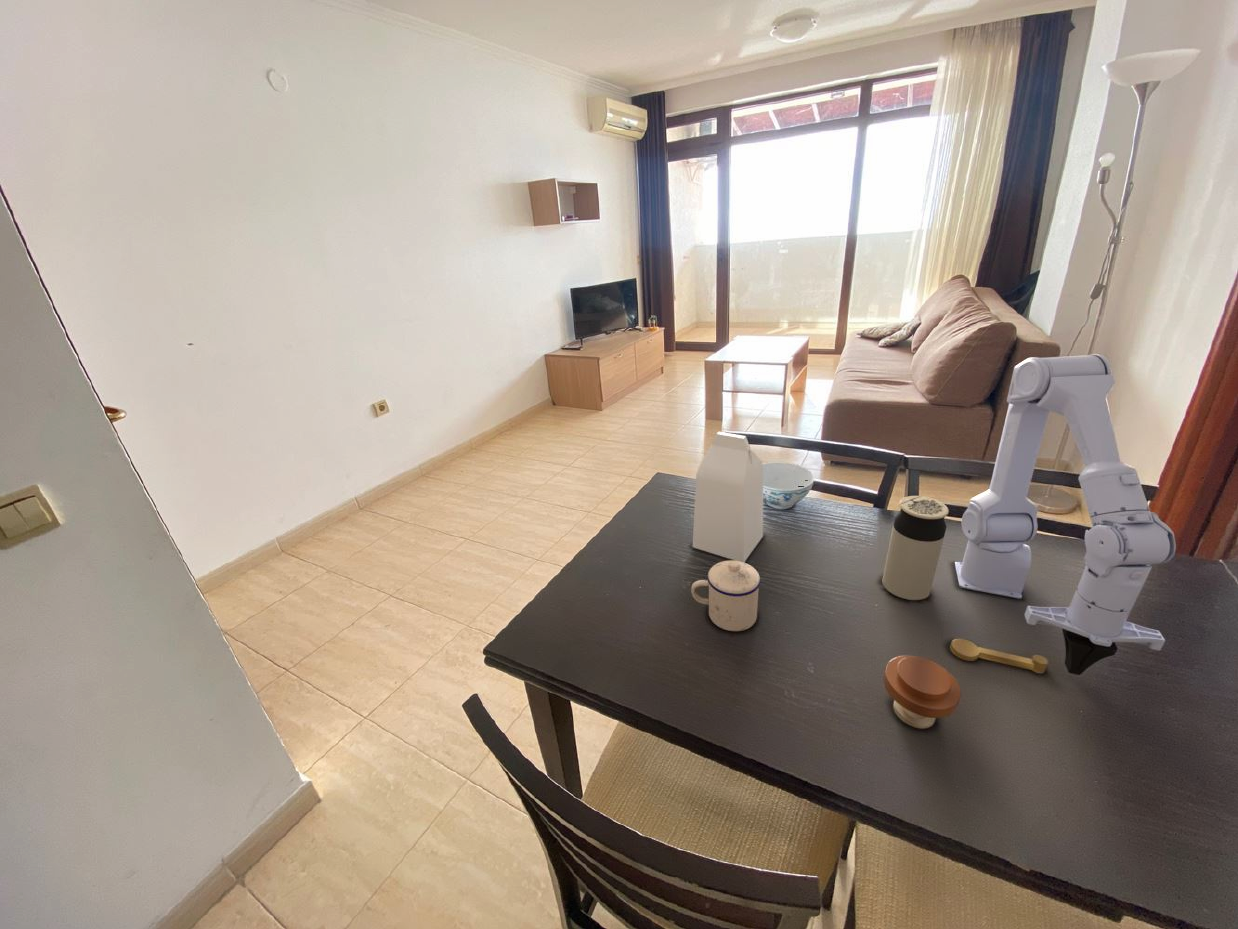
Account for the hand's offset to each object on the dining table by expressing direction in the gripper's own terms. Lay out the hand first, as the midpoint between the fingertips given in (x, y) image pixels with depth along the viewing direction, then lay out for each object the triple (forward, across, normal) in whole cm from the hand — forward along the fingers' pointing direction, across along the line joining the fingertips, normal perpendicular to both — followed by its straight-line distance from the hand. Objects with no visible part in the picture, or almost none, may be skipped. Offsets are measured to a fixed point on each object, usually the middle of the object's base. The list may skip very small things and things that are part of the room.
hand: (1072, 669), depth 74 cm
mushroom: (+2, -21, -15) cm, 26 cm away
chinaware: (+2, -48, +39) cm, 62 cm away
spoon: (+2, -10, 0) cm, 10 cm away
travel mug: (+2, -21, +14) cm, 25 cm away
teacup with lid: (+2, -51, -5) cm, 51 cm away
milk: (+2, -56, +18) cm, 59 cm away
